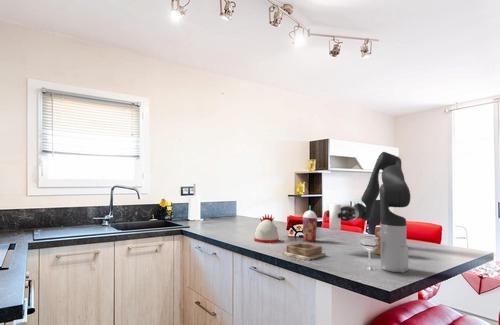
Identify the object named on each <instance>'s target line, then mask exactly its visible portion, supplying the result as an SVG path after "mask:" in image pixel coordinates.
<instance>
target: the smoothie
mask: <svg viewBox="0 0 500 325" xmlns="http://www.w3.org/2000/svg"><path fill="white" fill-rule="evenodd" d="M308 208H309V209H308V210H306V211H304V213H303V215H302V230H303V231H302V236H303V239H304V241H305V242H308V243H314V242H315V241H316V239H317V227H318V226H317V225H318V216H317V214H316V212H315V211H313V210H311V205H309V206H308Z"/></svg>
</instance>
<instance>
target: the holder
mask: <svg viewBox="0 0 500 325" xmlns="http://www.w3.org/2000/svg"><path fill="white" fill-rule="evenodd" d="M322 249H323V248H322V246H321V245H315V244H309V243H304V242H298V243H294V244H289V245H286V251H283V252H282V256H287V257H292V258H295V257H296V259H300V258H301V260H304V259H306V260H305V261H312V260H315V258H316V259H319V258H321V257H324V256H326V255H327V253H326V252H322V251H323V250H322ZM318 257H319V258H318ZM311 259H312V260H311Z"/></svg>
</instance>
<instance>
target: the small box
mask: <svg viewBox="0 0 500 325" xmlns="http://www.w3.org/2000/svg"><path fill="white" fill-rule="evenodd" d="M374 228H375V229H374V237H377V238H378V242H379V245H378V247H377V248H376V249H375V250H374V254H375V255H380V256H381V225H379V224H378V225H376V226H375V227H374Z"/></svg>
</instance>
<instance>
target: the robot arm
mask: <svg viewBox="0 0 500 325" xmlns="http://www.w3.org/2000/svg"><path fill="white" fill-rule="evenodd" d="M377 157H378V158H377V159H376V162H375V164H374V167H373V170H372V172H371V176H370V178H369V181H368V183H367V186H366V188H365V190H364V192H363V194H362V195H361V202H362V203H363V204H362V203H359V202H357V203H355V204H354V205H347V206H346V205H344V206H341V213H338V218H341V221H342V222H350V221H354V220H359V219H360V220H362V221H364V222H367V221H369V220H370V219H371V218H372V215H373V211H374V207H375V206H374V205H375V202H376V201H377V198H378V197H379V204H380V205H379V206H380V208H379V209H380V225H379V226H381V255H380V268H381V269H382V270H384V271H387V272H393V273H403V274H404V273H406V272H407V271H409V245H408V244H407V219H406V218H405V217H404V216H402V215H401V216H400V215H398V214H396V213H394V212H392V211H391V210H390V208H407V207H408V206H409V205H410V203H411V191H410V188H409V186H408V184H407V182H406V180H405V176H404V172H403V169H402V159H401V158H400V157H399V156H397V155H395V154H392V153H389V152H386V151H382V152H381V153H380V154H379V156H377ZM380 171H381V182H382V184H380V181H379V176H380V175H379V174H380ZM325 216H326V217H327V218H329V210H327V212H326V215H325Z"/></svg>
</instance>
